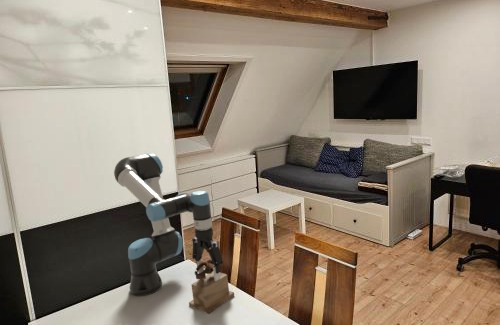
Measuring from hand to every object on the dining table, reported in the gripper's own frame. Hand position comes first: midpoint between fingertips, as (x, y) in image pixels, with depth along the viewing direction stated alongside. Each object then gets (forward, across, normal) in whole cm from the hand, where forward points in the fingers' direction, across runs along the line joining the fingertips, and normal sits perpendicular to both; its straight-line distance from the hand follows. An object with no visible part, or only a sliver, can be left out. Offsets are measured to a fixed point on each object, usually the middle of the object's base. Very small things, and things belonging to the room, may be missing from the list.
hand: (209, 276), depth 151 cm
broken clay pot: (+1, -1, 0) cm, 1 cm away
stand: (+11, 0, 0) cm, 11 cm away
